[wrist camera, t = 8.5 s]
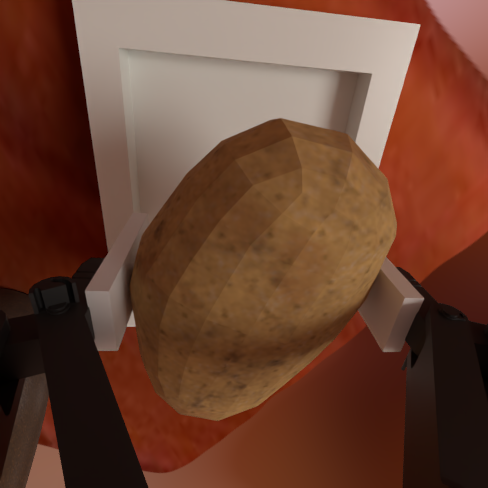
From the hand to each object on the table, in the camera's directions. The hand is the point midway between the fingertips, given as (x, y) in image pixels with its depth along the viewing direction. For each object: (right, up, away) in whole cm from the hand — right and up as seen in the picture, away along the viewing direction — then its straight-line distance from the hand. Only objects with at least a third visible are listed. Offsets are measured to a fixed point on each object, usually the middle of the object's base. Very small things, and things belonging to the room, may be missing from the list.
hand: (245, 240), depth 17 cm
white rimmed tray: (-1, +4, +6) cm, 7 cm away
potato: (0, 0, +1) cm, 1 cm away
